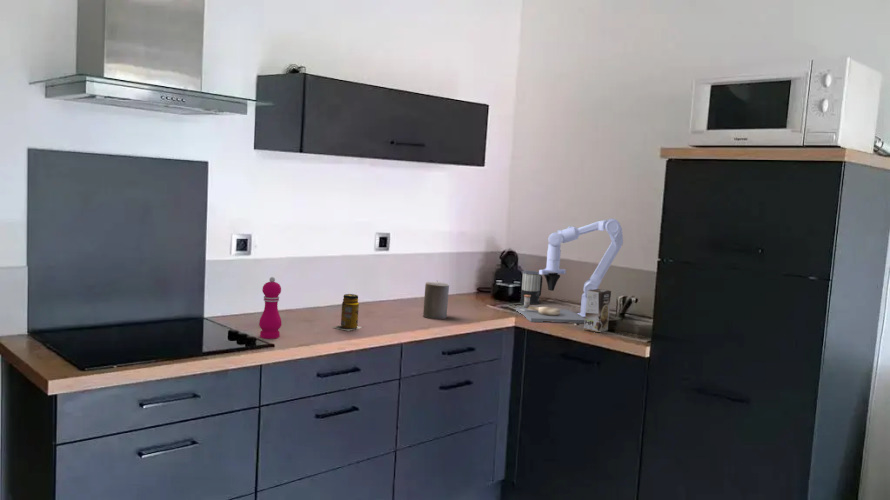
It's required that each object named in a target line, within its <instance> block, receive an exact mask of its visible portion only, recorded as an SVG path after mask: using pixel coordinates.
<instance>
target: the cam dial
mask: <svg viewBox="0 0 890 500" xmlns="http://www.w3.org/2000/svg"><path fill="white" fill-rule="evenodd" d="M530 297H531V295H524V303H523V308H526V309H528V310H536V311H538V313H540V314H544V315H560V309H561V308H558V307H552V306H539V307H537V306H531V304H530Z"/></svg>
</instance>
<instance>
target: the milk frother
mask: <svg viewBox="0 0 890 500" xmlns="http://www.w3.org/2000/svg"><path fill="white" fill-rule="evenodd" d="M521 280H522V281H521V292H522V293H521V294H520V297H521V299H520V300H519V302H520V303H521V304H524V295H531V297H530V305H539V304H540V296H541V294H542V289H543V288H542V287H543V275H541V274H539V271H534V270H523V271H522V279H521Z"/></svg>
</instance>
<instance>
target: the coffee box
mask: <svg viewBox="0 0 890 500" xmlns="http://www.w3.org/2000/svg"><path fill="white" fill-rule="evenodd" d="M611 295H612V290H610V289H609V290H608V289H601V288H600V289H599V288H598V289H594V290H588V292H587V302H586V313H585V317H584V319H585V324H584V326H583V329H584V328H587V329H592V330H596V331H602V332H601V333H603V332H606V331H608V330H609V320H610V319H609V318H610V307H611V297H612V296H611Z"/></svg>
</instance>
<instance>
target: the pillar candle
mask: <svg viewBox="0 0 890 500" xmlns="http://www.w3.org/2000/svg"><path fill="white" fill-rule="evenodd" d="M449 290H450V284H449V283H445V282H441V281H438V280H436V281H427V282H425V285H424V297H423V298H424V299H423V309H422V310H423V313H422V317H424V318H427V319H432V320H445V319H447V316H448V304H449V303H448V302H449V292H450V291H449Z"/></svg>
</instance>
